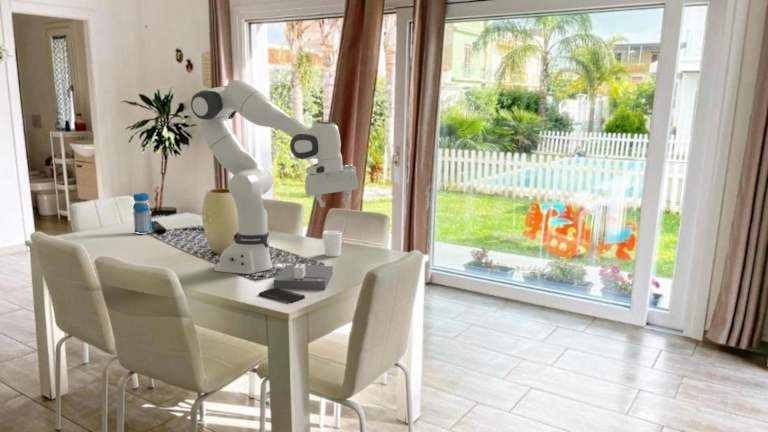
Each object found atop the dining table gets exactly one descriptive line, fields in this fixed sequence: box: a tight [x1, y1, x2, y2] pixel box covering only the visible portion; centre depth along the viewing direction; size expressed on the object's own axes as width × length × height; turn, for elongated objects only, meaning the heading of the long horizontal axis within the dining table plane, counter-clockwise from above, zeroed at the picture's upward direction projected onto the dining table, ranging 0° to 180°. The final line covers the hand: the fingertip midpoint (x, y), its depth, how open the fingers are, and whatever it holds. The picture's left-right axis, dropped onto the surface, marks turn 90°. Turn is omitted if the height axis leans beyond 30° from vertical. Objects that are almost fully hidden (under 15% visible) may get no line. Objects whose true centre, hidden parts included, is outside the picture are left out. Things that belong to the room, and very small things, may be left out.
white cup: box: [322, 230, 343, 258], centre depth 248 cm, size 8×8×10 cm
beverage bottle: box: [132, 192, 153, 233], centre depth 286 cm, size 8×8×20 cm
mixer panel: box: [273, 264, 334, 291], centre depth 210 cm, size 18×20×3 cm
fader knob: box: [294, 263, 306, 279], centre depth 204 cm, size 3×5×4 cm, turn 177°
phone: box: [258, 287, 306, 304], centre depth 192 cm, size 8×1×15 cm
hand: (334, 204), depth 208 cm, fingers open, 8 cm apart
